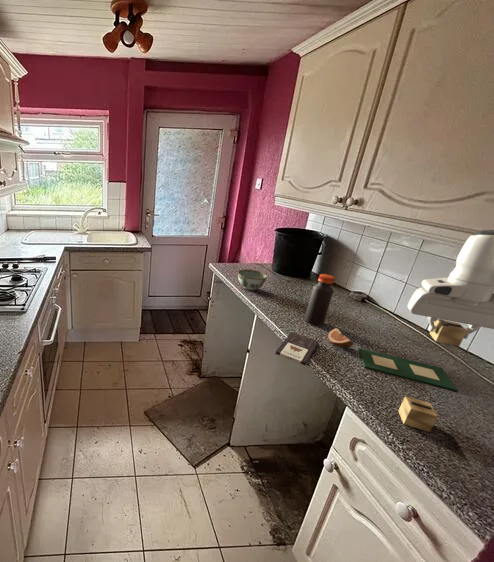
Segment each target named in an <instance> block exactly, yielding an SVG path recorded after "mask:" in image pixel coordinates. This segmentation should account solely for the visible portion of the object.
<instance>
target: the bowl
mask: <svg viewBox="0 0 494 562" xmlns="http://www.w3.org/2000/svg"><path fill="white" fill-rule="evenodd" d="M237 274H238V275H237V279H238V283H239V284H240V285H241V286H242V287H243V289H244V290H247V291H251V292H254V291H256V290H257V289H260V288H261V287H263V286H264V284H265V283H266V280H267V278H268V275H267V274H266V273H264V272H262V271H260V270H254V269H239V270H238V271H237Z"/></svg>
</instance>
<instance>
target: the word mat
mask: <svg viewBox="0 0 494 562" xmlns="http://www.w3.org/2000/svg"><path fill="white" fill-rule="evenodd" d="M357 350H358V353H359V356H360V360H361V362H362V365H363V368H364V369H368V370H372V371H376V372H379V373H384V374H387V375H390V376H394V377H398V378H403V379H406V380H410V381H413V382H414V381H415V382H418V383H422V384H426V385H429V386H433V387H436V388H441V389H445V390H449V391H453V392H458V391H459V390H458V388H457V386H456V385H455V384H454V383H453V381H452V380H451V379H450V377H449V376H448V375H447V373H446V372H445V370H444V369H443V367H440V366H436V365H431V364H428V363H423V362H419V361H415V360H411V359H407V358H404V357H403V358H402V357H398V356H394V355H390V354H386V353H381V352H377V351H373V350H369V349H365V348H360V347H358V348H357Z"/></svg>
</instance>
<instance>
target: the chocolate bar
mask: <svg viewBox="0 0 494 562" xmlns="http://www.w3.org/2000/svg"><path fill="white" fill-rule="evenodd" d="M318 344H319V340H317V339H313V338H311V337H307V336H305V335H303V334H299V333H296V332H293V331H291V332H290V333H289V334H288V335H287V337H286V338H285V339H284V340H283V342H282V343H281V344H280V345H279V347H278V348H277V349H276V351H275V353H274V354H275V355H278V356H279V357H283V358H285V359H287V360H290V361H293V362H295V363H298V364H300V365H303V366H306V365H307V363H308V361H309V360H310V358H311V356H312V354H313V353H314V351H315V349H316V348H317V346H318Z"/></svg>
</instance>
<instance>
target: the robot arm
mask: <svg viewBox="0 0 494 562" xmlns="http://www.w3.org/2000/svg"><path fill="white" fill-rule="evenodd" d="M420 285H421V287H419V288H417V289H416V290H415V291H414V292H413V294H412V295H411V297H410V299H409V301H408V303H407V306H406V308H407V309H408V311H409V312H410V313H411V314H412V315H417V316H422V317H426V319H427V321H428V323H429V325H428V328H427V330H428V332H429V333H430V332H435V333H436V332H437V330H438V327H437V326H436V325H434V323H435V322H436V321H437V319H442V320H445V321H450V322H456V323H459V324H465V325H467V327H466V328H465V329H466V330H467V332H466V334H465V336H464V338H463V340H464V339H465V340H467V339H468V337H469V335H470V334H472V333H474V332H476V331H478V330H479V328H480V327H481V328H486V329H491V330H494V229H487V230H486V229H485V230H480V231H476V232H474V233H472V234H471V235H470V236H469V237H468V238H467V240H465V242H464V244H463V245H462V247H461V249H460V250H459V253H458V255H457V258H456V260H455V267H454V268H453V269H452V270H451V272H450V273H449V275H448V276H447V277H439V278H438V277H437V278H426V279H423V280H422V281H421V282H420Z"/></svg>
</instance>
